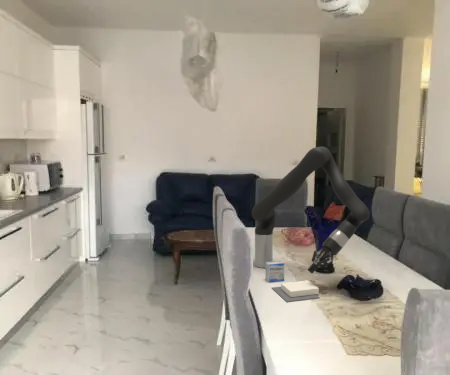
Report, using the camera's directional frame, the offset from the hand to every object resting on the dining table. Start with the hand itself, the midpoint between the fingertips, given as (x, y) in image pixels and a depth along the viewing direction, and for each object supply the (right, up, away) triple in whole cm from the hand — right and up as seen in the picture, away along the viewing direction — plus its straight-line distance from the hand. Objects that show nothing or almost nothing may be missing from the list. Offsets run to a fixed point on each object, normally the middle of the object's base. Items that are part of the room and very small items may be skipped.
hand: (309, 271), depth 179 cm
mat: (-7, -9, -1) cm, 11 cm away
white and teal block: (+2, -7, +1) cm, 7 cm away
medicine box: (-13, -7, +15) cm, 22 cm away
